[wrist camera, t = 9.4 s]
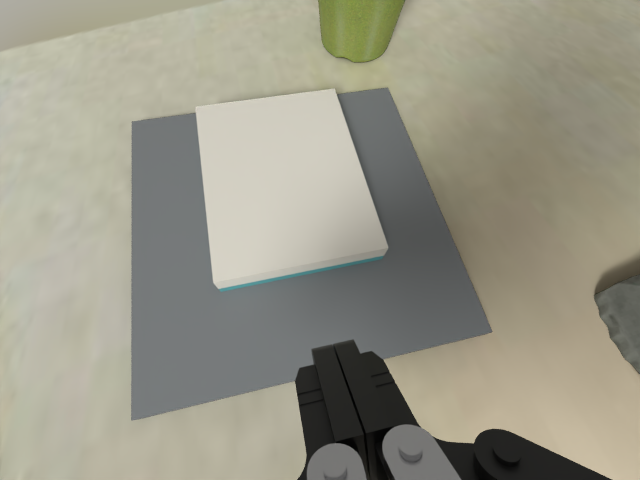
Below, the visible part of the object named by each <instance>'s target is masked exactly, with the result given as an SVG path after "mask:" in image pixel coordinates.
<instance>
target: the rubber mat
mask: <svg viewBox="0 0 640 480" xmlns="http://www.w3.org/2000/svg"><path fill="white" fill-rule="evenodd" d="M337 97H338V100H339V103H340V106H341V109H342V112H343V115H344V118H345V121H346V124H347V127H348V130H349V133H350V136H351V138H352V141H353V144H354V147H355V150H356V153H357V156H358V159H359V162H360V165H361V168H362V171H363V174H364V177H365V180H366V183H367V186H368V189H369V192H370V195H371V198H372V200H373V203H374V206H375V209H376V212H377V215H378V218H379V221H380V224H381V227H382V230H383V233H384V236H385V239H386V242H387V245H388V250H387V251H386V253H385V255H384V256H383V258H382V259H380V260H375V261H370V262H365V263H360V264H355V265H350V266H345V267H341V268H336V269H331V270H326V271H321V272H316V273H311V274H306V275H301V276H296V277H291V278H287V279H282V280H277V281H272V282H267V283H262V284H257V285H252V286H247V287H242V288H237V289H233V290H228V291H223V292H221V291H220V290H219V289H218V288H217V287H216V286H215V284H214V283H213V276H212V266H211V256H210V246H209V236H208V227H207V217H206V207H205V197H204V187H203V178H202V168H201V158H200V148H199V138H198V129H197V119H196V113H193V114H186V115H178V116H171V117H163V118H156V119H148V120H141V121H133V122H132V383H131V420H137V419H142V418H146V417H150V416H154V415H158V414H162V413H166V412H170V411H174V410H178V409H183V408H187V407H191V406H195V405H199V404H203V403H207V402H211V401H215V400H219V399H223V398H227V397H231V396H236V395H240V394H244V393H248V392H252V391H256V390H260V389H264V388H268V387H272V386H276V385H280V384H284V383H289V382H293V381H295V379H296V376H297V373H298V370H299V368H301V367H305V366H309V365H314V364H313V358H312V351H311V349H313V348H317V347H321V346H326V345H330V344H332V346H333V344H334V343H339V342H343V341H347V340H352V339H353V340H354V341H355V343H356V345H357V347H358V349H359V352H360V353H364V352H369V351H373V352H374V353H375V354H377V355H378V356H379V357H380V358H382V359H386V358H390V357H395V356H399V355H403V354H407V353H411V352H415V351H419V350H423V349H427V348H431V347H435V346H439V345H443V344H448V343H452V342H456V341H460V340H464V339H468V338H472V337H476V336H480V335H484V334H488V333H491V332H492V330H491V327H490V325H489V323H488V320H487V318H486V316H485V313H484V311H483V309H482V306H481V304H480V302H479V299H478V297H477V295H476V292H475V290H474V288H473V285H472V283H471V281H470V278H469V276H468V274H467V271H466V269H465V267H464V264H463V262H462V260H461V257H460V255H459V253H458V250H457V248H456V246H455V243H454V241H453V239H452V236H451V234H450V232H449V229H448V227H447V225H446V222H445V220H444V218H443V215H442V213H441V211H440V208H439V206H438V204H437V201H436V199H435V197H434V194H433V192H432V190H431V187H430V185H429V183H428V180H427V178H426V176H425V173H424V171H423V169H422V166H421V164H420V162H419V159H418V157H417V155H416V152H415V150H414V148H413V145H412V143H411V141H410V138H409V136H408V134H407V131H406V129H405V127H404V124H403V122H402V120H401V117H400V115H399V113H398V110H397V108H396V106H395V103H394V101H393V99H392V96H391V94H390V92H389V89H388V88H381V89H374V90H366V91H359V92H351V93H344V94H337Z"/></svg>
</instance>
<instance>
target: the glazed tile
mask: <svg viewBox="0 0 640 480" xmlns="http://www.w3.org/2000/svg"><path fill="white" fill-rule="evenodd" d="M195 109H196V119H197V129H198V138H199V148H200V158H201V168H202V178H203V187H204V197H205V207H206V217H207V227H208V236H209V246H210V256H211V266H212V276H213V283H214V284H215V286H216V287H217V288H218V289H219V290H220V291H221V292H223V291H228V290H233V289H237V288H242V287H247V286H252V285H257V284H262V283H267V282H272V281H277V280H282V279H287V278H291V277H296V276H301V275H306V274H311V273H316V272H321V271H326V270H331V269H336V268H341V267H345V266H350V265H355V264H360V263H365V262H370V261H375V260H380V259H382V258H383V256H384V255H385V253H386V251H387V250H388V245H387V242H386V239H385V236H384V233H383V230H382V227H381V224H380V221H379V218H378V215H377V212H376V209H375V206H374V203H373V200H372V198H371V195H370V192H369V189H368V186H367V183H366V180H365V177H364V174H363V171H362V168H361V165H360V162H359V159H358V156H357V153H356V150H355V147H354V144H353V141H352V138H351V136H350V133H349V130H348V127H347V124H346V121H345V118H344V115H343V112H342V109H341V106H340V103H339V100H338V97H337V94H336V91H335V88H334V89H327V90H319V91H311V92H304V93H296V94H288V95H281V96H273V97H265V98H258V99H250V100H242V101H235V102H227V103H219V104H212V105H204V106H196V107H195Z"/></svg>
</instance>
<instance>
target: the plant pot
mask: <svg viewBox="0 0 640 480" xmlns="http://www.w3.org/2000/svg"><path fill="white" fill-rule="evenodd" d="M318 2H319V14H320V26H321V37H322V43H323V45H324V47H325V48H326V50H327V51H328V52H329V53H331V54H332V55H333V56H335V57H337V58H338V57H344V58H347V59H349V60H351V61H352V62H366V61H371V60H373V59H376V58H378V57H379V56H381V55H382V54H383V53H384V51H385V50H386V48H387V46H388V44H389V41H390V39H391V36H392V33H393V31H394V28H395V25H396V23H397V20H398V17H399V15H400V12H401V10H402V7H403V4H404V2H405V0H318Z"/></svg>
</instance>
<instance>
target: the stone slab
mask: <svg viewBox="0 0 640 480" xmlns="http://www.w3.org/2000/svg"><path fill="white" fill-rule="evenodd" d="M594 299H595V302H596V304H597V306H598V309H599V315H600V318H601V319H602V320H603V321H604V323H605V324H606V325H607V327H608V331H609V335H610V338H611V340H612V341H613V342H614V343H615V344H616V345H617V347H618V349H619V350H620V352H621V354H622V356H623V357H624V358H625V360H627V361H628V362H629V363H631V365H632V366H633V367H634V368H635V369H636V370H637V372H638V373H639V374H640V274H639V275H636V276H633V277H631V278H628V279H626V280H624V281H621V282H618V283H616V284H614V285H613V286H611V287H609V288H608V289H606V290H604V291H602V292H599V293H597V294H596V295H594Z"/></svg>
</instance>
